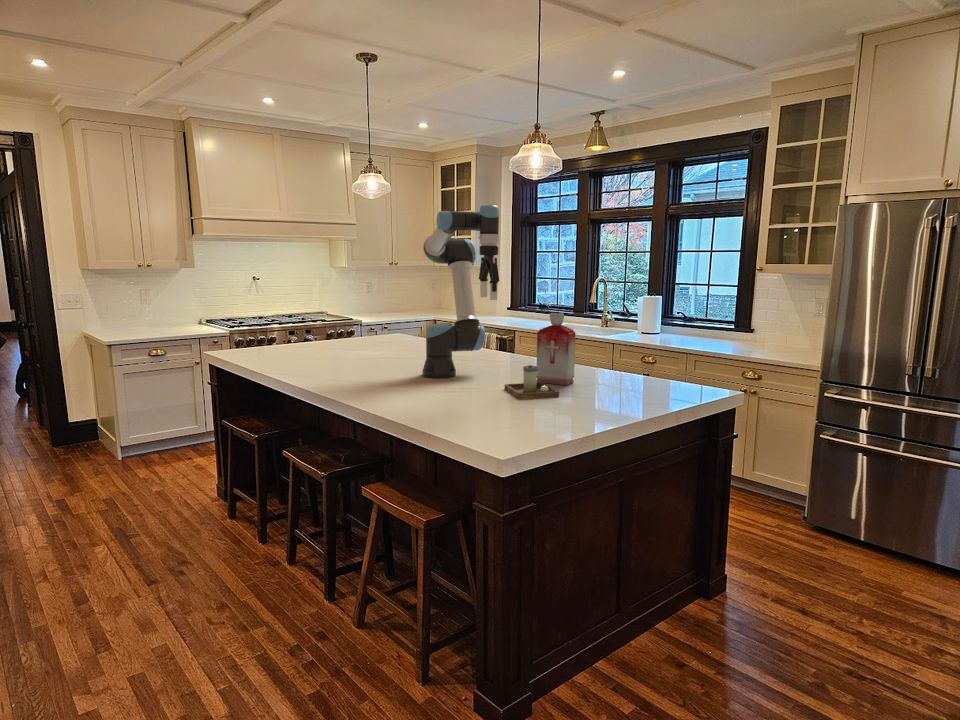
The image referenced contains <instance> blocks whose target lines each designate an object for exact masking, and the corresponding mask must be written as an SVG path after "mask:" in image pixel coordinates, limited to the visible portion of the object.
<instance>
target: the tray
mask: <svg viewBox="0 0 960 720" xmlns="http://www.w3.org/2000/svg"><path fill="white" fill-rule="evenodd" d="M543 385H545V386H547V387H548V388H549V392H540V387H541V386H543ZM504 390H505V391H507V392H508V393H509V394H510V395H512V396H514V397H515V398H516V399H518V400H529V399H530V400H533V399H547V398H548V399H549V398H559V395H560V394H559V393H560V392H559V391H558V390H556V389H554V388H553V387H551V386H549V385H548V384H546V383H542V382H537V391H536V393H524V392H523V383H521V382H520V383H508V384H507V383H505V384H504Z"/></svg>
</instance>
